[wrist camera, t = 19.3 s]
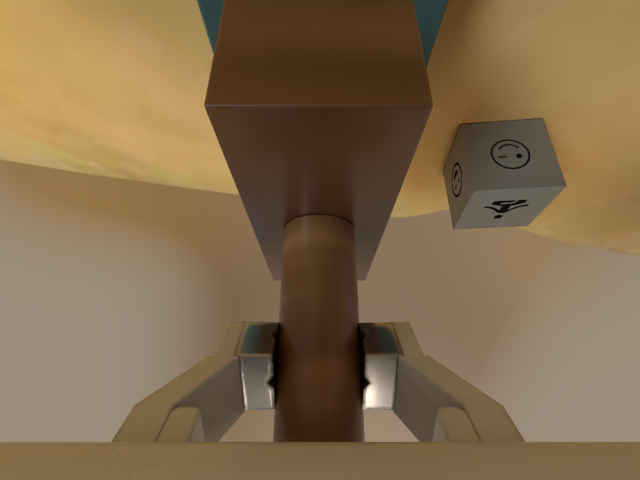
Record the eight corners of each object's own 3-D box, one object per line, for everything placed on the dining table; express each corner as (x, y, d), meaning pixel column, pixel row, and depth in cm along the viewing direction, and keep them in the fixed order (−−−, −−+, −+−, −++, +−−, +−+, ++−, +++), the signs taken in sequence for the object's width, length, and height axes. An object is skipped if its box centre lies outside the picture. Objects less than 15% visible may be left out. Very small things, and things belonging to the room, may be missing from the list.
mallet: (223, -5, 8) (67, 806, 3) (413, -5, 8) (565, 804, 3) (276, 217, 18) (260, 493, 13) (361, 217, 18) (378, 494, 13)
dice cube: (542, 118, 21) (566, 185, 19) (511, 167, 26) (527, 225, 24) (460, 124, 22) (474, 190, 20) (443, 171, 26) (453, 229, 24)
